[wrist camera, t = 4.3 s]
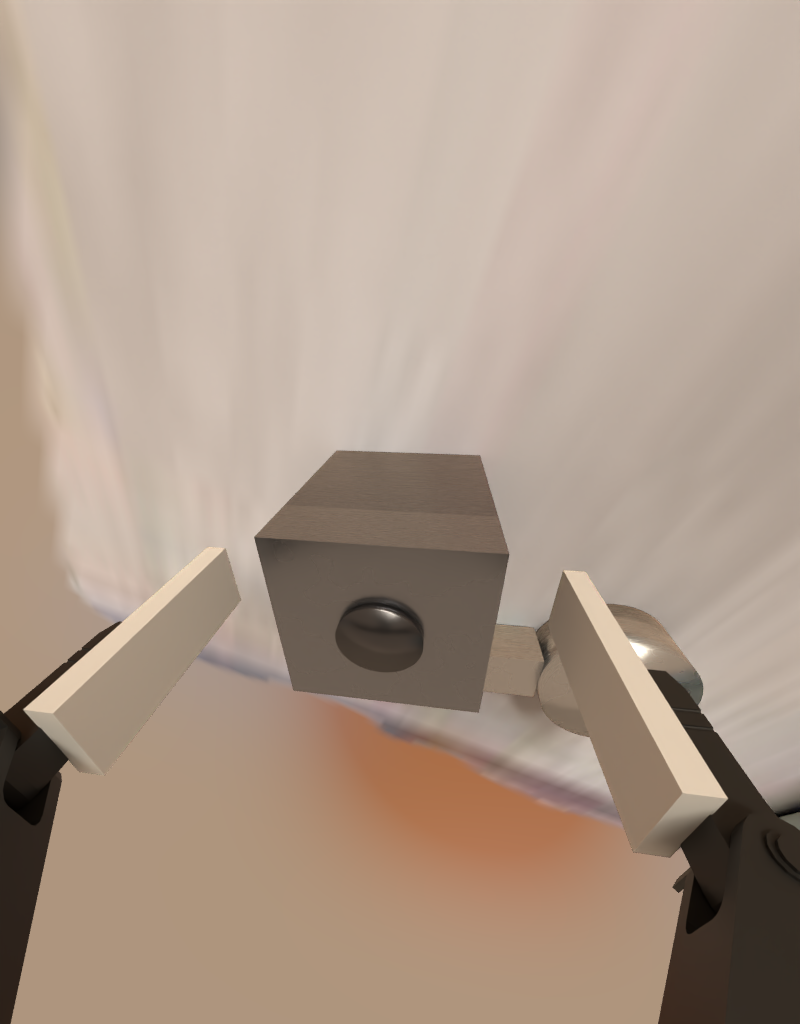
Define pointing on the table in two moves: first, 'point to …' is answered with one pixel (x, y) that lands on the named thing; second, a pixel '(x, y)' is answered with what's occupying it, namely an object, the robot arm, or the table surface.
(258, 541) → the grey square block
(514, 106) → the table surface
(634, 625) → the chrome ball-end bar
